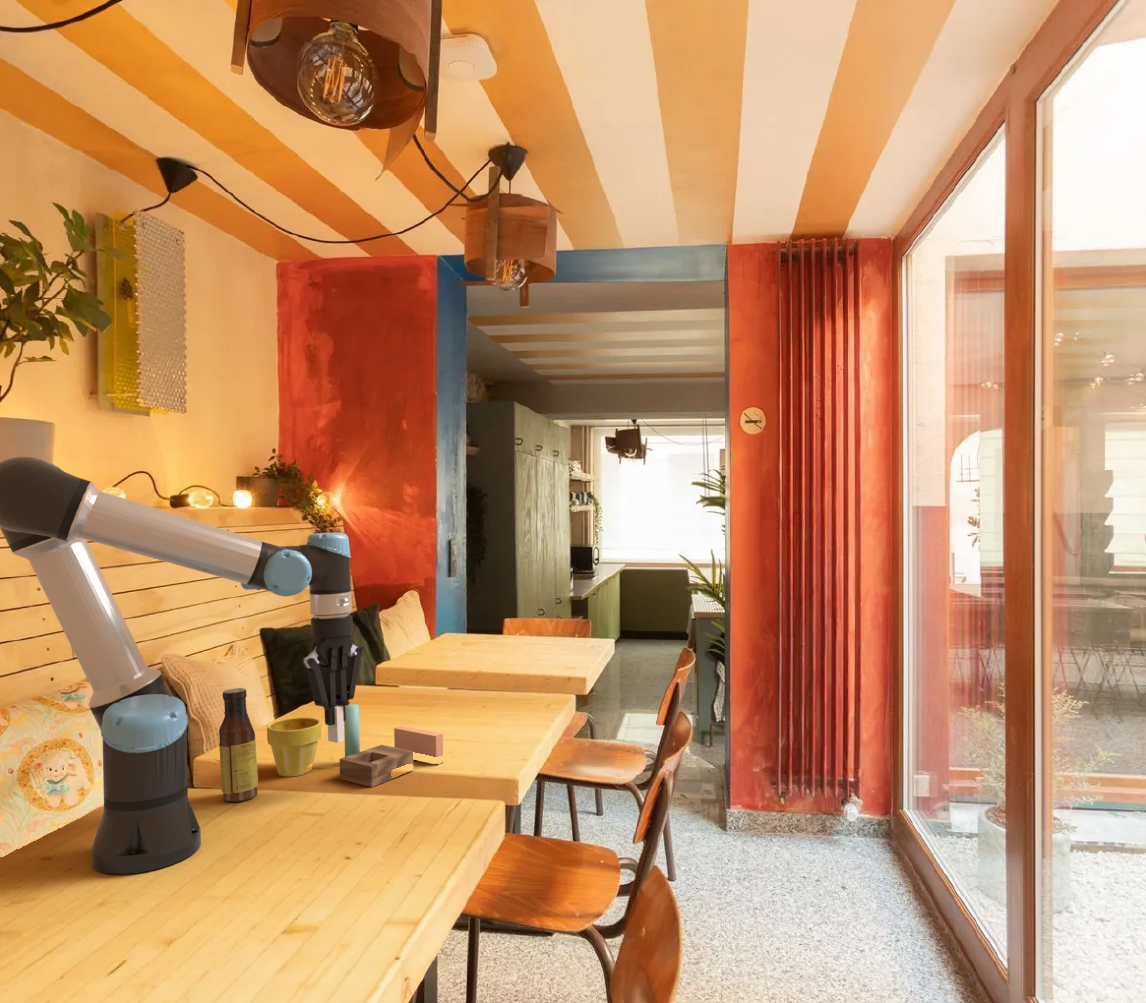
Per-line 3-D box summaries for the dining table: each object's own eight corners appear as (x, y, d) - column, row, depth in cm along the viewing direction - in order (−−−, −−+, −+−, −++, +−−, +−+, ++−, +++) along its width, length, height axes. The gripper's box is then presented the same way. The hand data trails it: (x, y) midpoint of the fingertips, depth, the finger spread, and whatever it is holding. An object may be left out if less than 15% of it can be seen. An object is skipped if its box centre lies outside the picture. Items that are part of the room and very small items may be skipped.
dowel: (351, 767, 170) (350, 708, 170) (341, 764, 172) (340, 706, 172) (363, 763, 173) (361, 705, 173) (353, 760, 174) (352, 703, 174)
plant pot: (312, 780, 163) (311, 729, 163) (259, 780, 163) (258, 730, 163) (328, 763, 173) (327, 716, 173) (279, 763, 173) (278, 716, 173)
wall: (436, 765, 170) (435, 736, 170) (394, 756, 177) (394, 728, 177) (443, 762, 172) (442, 733, 172) (401, 754, 178) (401, 726, 178)
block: (371, 787, 158) (371, 766, 158) (339, 778, 163) (339, 759, 163) (413, 770, 167) (413, 751, 167) (382, 763, 172) (381, 744, 172)
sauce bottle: (264, 791, 156) (262, 686, 156) (248, 804, 150) (245, 693, 150) (231, 791, 157) (228, 686, 157) (213, 803, 151) (211, 693, 151)
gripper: (316, 621, 148) (321, 753, 149) (371, 611, 159) (376, 734, 159) (289, 619, 153) (294, 747, 153) (345, 609, 163) (349, 729, 164)
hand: (336, 740), depth 156 cm, fingers closed
